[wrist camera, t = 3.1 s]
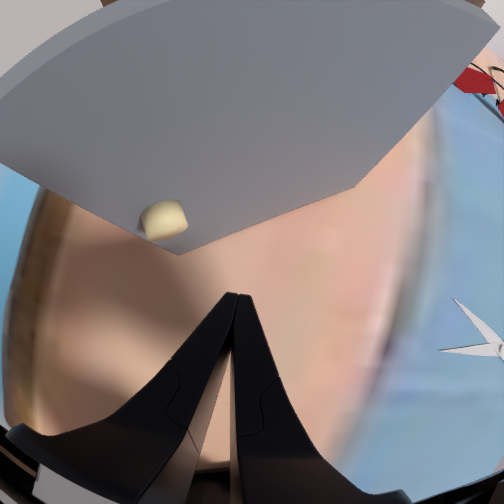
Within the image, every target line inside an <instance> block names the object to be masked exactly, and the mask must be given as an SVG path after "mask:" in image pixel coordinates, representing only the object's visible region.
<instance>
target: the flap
mask: <svg viewBox="0 0 504 504" xmlns="http://www.w3.org/2000/svg"><path fill="white" fill-rule="evenodd" d="M499 29H500V26H499V25H498V24H497V23H496V22H495V21H494V20H493V19H492V18H491V17H490V16H489V15H488V14H487V13H486V12H485V11H484V10H483V9H481V8H479V7H477V6H475V5H473V4H471V3H469V2H467V1H465V0H118V1H116V2H114V3H111V4H109V5H107V6H105V7H103V8H101V9H99V10H97V11H95V12H93V13H91V14H89V15H88V16H86V17H84V18H82V19H80V20H78V21H77V22H75V23H73V24H72V25H70V26H68V27H67V28H65V29H64V30H62V31H60V32H59V33H57V34H56V35H54V36H53V37H51V38H50V39H48V40H47V41H46V42H44V43H43V44H41V45H40V46H38V47H37V48H36V49H34V50H33V51H32V52H30V53H29V54H28V55H26V56H25V57H24V58H23V59H21V60H20V61H19V62H18V63H17V64H15V65H14V66H13V67H12V68H11V69H10V70H8V71H7V72H6V73H5V74H4V75H3V76H2V77H1V78H0V163H2V164H3V165H5V166H7V167H9V168H10V169H12V170H14V171H16V172H17V173H19V174H21V175H23V176H24V177H26V178H28V179H30V180H32V181H33V182H35V183H37V184H39V185H41V186H42V187H44V188H46V189H48V190H50V191H51V192H53V193H55V194H57V195H59V196H61V197H63V198H64V199H66V200H68V201H70V202H72V203H74V204H76V205H78V206H80V207H81V208H83V209H85V210H87V211H89V212H91V213H93V214H95V215H97V216H99V217H101V218H103V219H105V220H107V221H109V222H111V223H113V224H115V225H117V226H119V227H121V228H123V229H125V230H127V231H129V232H131V233H133V234H135V235H137V236H139V237H141V238H143V239H145V240H147V241H149V242H151V243H153V244H155V245H157V246H159V247H161V248H163V249H165V250H168V251H170V252H172V253H174V254H176V255H178V256H179V255H181V254H183V253H186V252H188V251H191V250H193V249H196V248H198V247H200V246H203V245H205V244H208V243H210V242H213V241H215V240H218V239H220V238H223V237H225V236H228V235H230V234H233V233H235V232H238V231H240V230H243V229H245V228H248V227H251V226H253V225H256V224H258V223H261V222H263V221H266V220H268V219H271V218H274V217H276V216H279V215H281V214H284V213H287V212H289V211H292V210H295V209H297V208H300V207H302V206H305V205H308V204H310V203H313V202H316V201H319V200H321V199H324V198H327V197H329V196H332V195H335V194H337V193H340V192H343V191H346V190H348V189H351V188H354V187H355V186H356V185H357V184H358V183H359V182H360V181H361V180H362V179H363V178H364V177H365V176H366V175H367V174H368V173H369V172H370V171H371V170H372V169H373V168H374V167H375V166H376V165H377V164H378V163H379V162H380V161H381V160H382V158H383V157H384V156H385V155H386V154H387V153H388V152H389V151H390V150H391V149H392V148H393V147H394V146H395V145H396V144H397V143H398V142H399V141H400V140H401V139H402V138H403V137H404V136H405V134H406V133H407V132H408V131H409V130H410V129H411V128H412V127H413V126H414V125H415V124H416V123H417V122H418V121H419V120H420V118H421V117H422V116H423V115H424V114H425V113H426V112H427V111H428V110H429V109H430V108H431V107H432V106H433V104H434V103H435V102H436V101H437V100H438V99H439V98H440V97H441V96H442V95H443V93H444V92H445V91H446V90H447V89H448V88H449V87H450V86H451V85H452V83H453V82H454V81H455V80H456V79H457V78H458V77H459V76H460V74H461V73H462V72H463V71H464V70H465V69H466V68H467V67H468V65H469V64H470V63H471V62H472V61H473V60H474V58H475V57H476V56H477V55H478V54H479V53H480V52H481V50H482V49H483V48H484V47H485V46H486V44H487V43H488V42H489V41H490V40H491V38H492V37H493V36H494V35H495V34H496V33H497V31H498V30H499Z"/></svg>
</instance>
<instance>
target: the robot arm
mask: <svg viewBox="0 0 504 504" xmlns="http://www.w3.org/2000/svg"><path fill="white" fill-rule="evenodd" d="M230 352H231V366H230V467H227V468H220V469H212V470H203V471H195V469H196V466H197V462H198V459H199V455H200V453H201V449H202V446H203V443H204V439H205V436H206V433H207V430H208V426H209V423H210V420H211V416H212V413H213V410H214V407H215V403H216V400H217V397H218V393H219V390H220V387H221V383H222V380H223V377H224V373H225V370H226V366H227V363H228V360H229V356H230ZM0 504H504V469H502V470H500V471H498V472H496V473H493V474H491V475H489V476H486V477H484V478H482V479H479V480H477V481H474V482H471V483H468V484H466V485H463V486H460V487H457V488H454V489H451V490H448V491H445V492H442V493H439V494H436V495H433V496H431V497H428V498H425V499H422V500H419V501H416V502H413V503H412V501H411V500H410V499H409V497H408V496H407V495H406V494H405V492H404V491H403V490H401V489H400V490H395V491H390V492H386V493H381V494H375V495H373V494H368V493H365V492H363V491H361V490H360V489H358V488H357V487H356V486H355V485H354V484H352V483H351V482H350V481H349V480H348V479H346V478H345V477H344V476H343V475H342V474H341V473H340V472H338V471H337V470H336V469H335V468H334V467H333V466H332V465H331V464H329V463H328V462H327V461H326V460H325V459H324V458H323V457H322V456H321V455H320V453H319V452H318V451H317V449H316V448H315V446H314V445H313V443H312V441H311V440H310V438H309V436H308V434H307V433H306V431H305V429H304V427H303V425H302V424H301V422H300V420H299V418H298V416H297V415H296V413H295V411H294V409H293V407H292V405H291V403H290V401H289V398H288V396H287V394H286V391H285V389H284V386H283V384H282V381H281V378H280V377H279V373H278V370H277V367H276V365H275V362H274V359H273V356H272V353H271V351H270V348H269V345H268V342H267V339H266V337H265V334H264V331H263V328H262V325H261V323H260V320H259V317H258V314H257V311H256V308H255V305H254V303H253V300H252V297H251V296H250V295H246V294H239V296H238V294H237V293H232V292H226V293H225V294H224V296H223V297H222V298H221V299H220V300H219V302H218V303H217V304H216V305H215V306H214V307H213V309H212V310H211V311H210V312H209V313H208V315H207V316H206V317H205V318H204V319H203V321H202V322H201V323H200V324H199V325H198V326H197V328H196V329H195V330H194V331H193V332H192V334H191V335H190V336H189V337H188V338H187V340H186V341H185V342H184V343H183V344H182V345H181V347H180V348H179V349H178V350H177V351H176V353H175V354H174V355H173V356H172V357H171V359H170V360H169V361H168V362H167V363H166V364H165V365H164V367H163V368H162V369H161V370H160V371H159V372H158V373H157V374H156V375H155V376H154V377H153V378H152V379H151V380H150V381H149V382H148V383H147V384H146V385H145V386H144V387H143V388H142V389H141V390H140V391H139V392H137V393H136V394H135V395H134V396H133V397H132V398H131V399H129V400H128V401H127V402H126V403H125V404H124V405H123V406H122V407H120V408H119V409H118V410H117V411H116V412H114V413H113V414H112V415H110V416H109V417H107V418H105V419H103V420H101V421H98V422H95V423H92V424H90V425H87V426H84V427H81V428H78V429H75V430H72V431H69V432H65V433H62V434H59V435H54V436H46V435H42V434H40V433H38V432H37V431H35V430H34V429H32V428H30V427H29V426H27V425H26V424H24V423H21V424H19V425H17V426H15V427H13V428H12V429H10V430H9V431H8V430H7V429H5V428H4V427H3V426H1V425H0Z"/></svg>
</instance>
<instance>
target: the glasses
mask: <svg viewBox="0 0 504 504" xmlns="http://www.w3.org/2000/svg"><path fill="white" fill-rule="evenodd" d="M470 64H472V65H473V66H475V67H477V68H478V69H480V70H481V71H482V72H483V73H482V72H479V71H477V70H474V69H471V68H468V67H467V68H466V69H465V70H464V71H463V72H462V73H461V74H460V76H459V77H458V78H457V79H456V80H455V81H454V82H455V84H456V86H457V88H459V89H460V90H461V91H463V92H464V93H481V94H482V95H483V97H485V95H487V94H496V92H495V88H494V84H493V82H496V83H497V84H498V85H499V86H500V87H501V88H502V89H503V90H504V88H503V87H502V86H501V85H500V84H499V83H498V82H497V81H495V80H494V79H493V78H492V77H491V76H490V75H488V74H487V73H486V72H485V71H483V70H482V69H481V68H479V67H478V66H476V65H475V64H473V63H470ZM493 68H494V69H495V70H498V71H501V72H503V73H504V70H502V69H500V68H497V67H494V66H493ZM484 73H485V74H484ZM497 105H498V110H500V112H501V114H502V115H503V117H504V100H503V101H502V102H501V103H500V102H499V100H498V98H497V100H496V106H497Z"/></svg>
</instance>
